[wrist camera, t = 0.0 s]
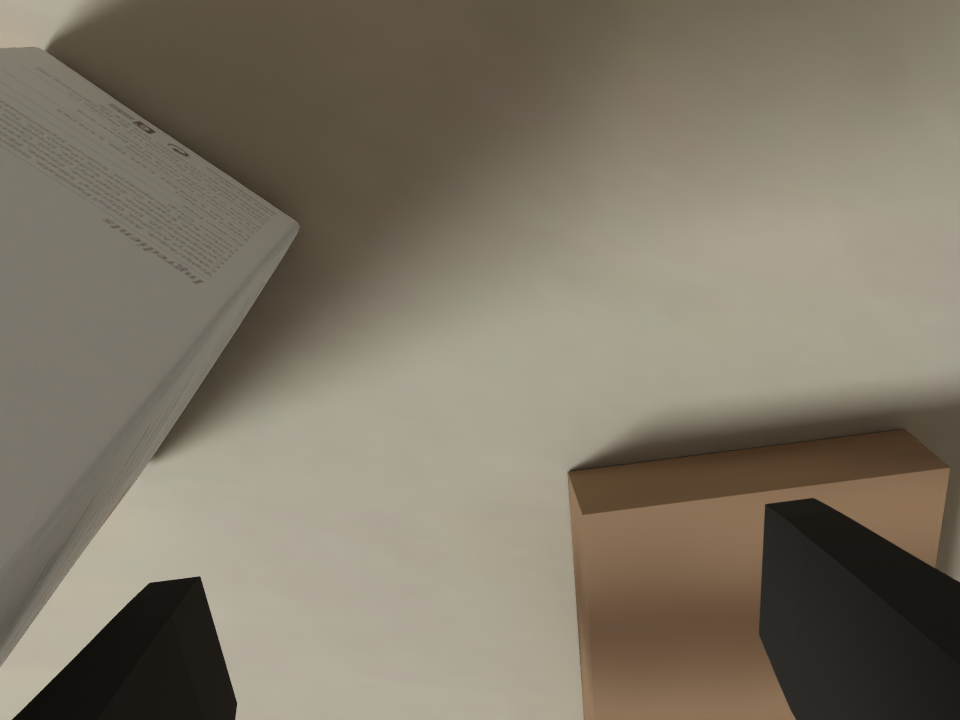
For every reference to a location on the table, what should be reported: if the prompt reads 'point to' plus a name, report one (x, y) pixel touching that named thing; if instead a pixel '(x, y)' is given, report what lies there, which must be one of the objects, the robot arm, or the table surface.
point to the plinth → (718, 565)
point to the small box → (102, 308)
